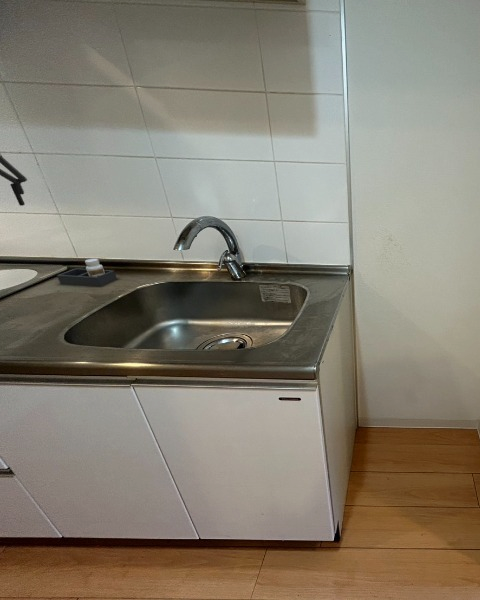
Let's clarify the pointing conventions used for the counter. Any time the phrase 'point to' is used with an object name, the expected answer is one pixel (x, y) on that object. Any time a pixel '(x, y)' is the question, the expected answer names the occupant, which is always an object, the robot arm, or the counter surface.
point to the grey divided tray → (85, 278)
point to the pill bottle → (94, 268)
